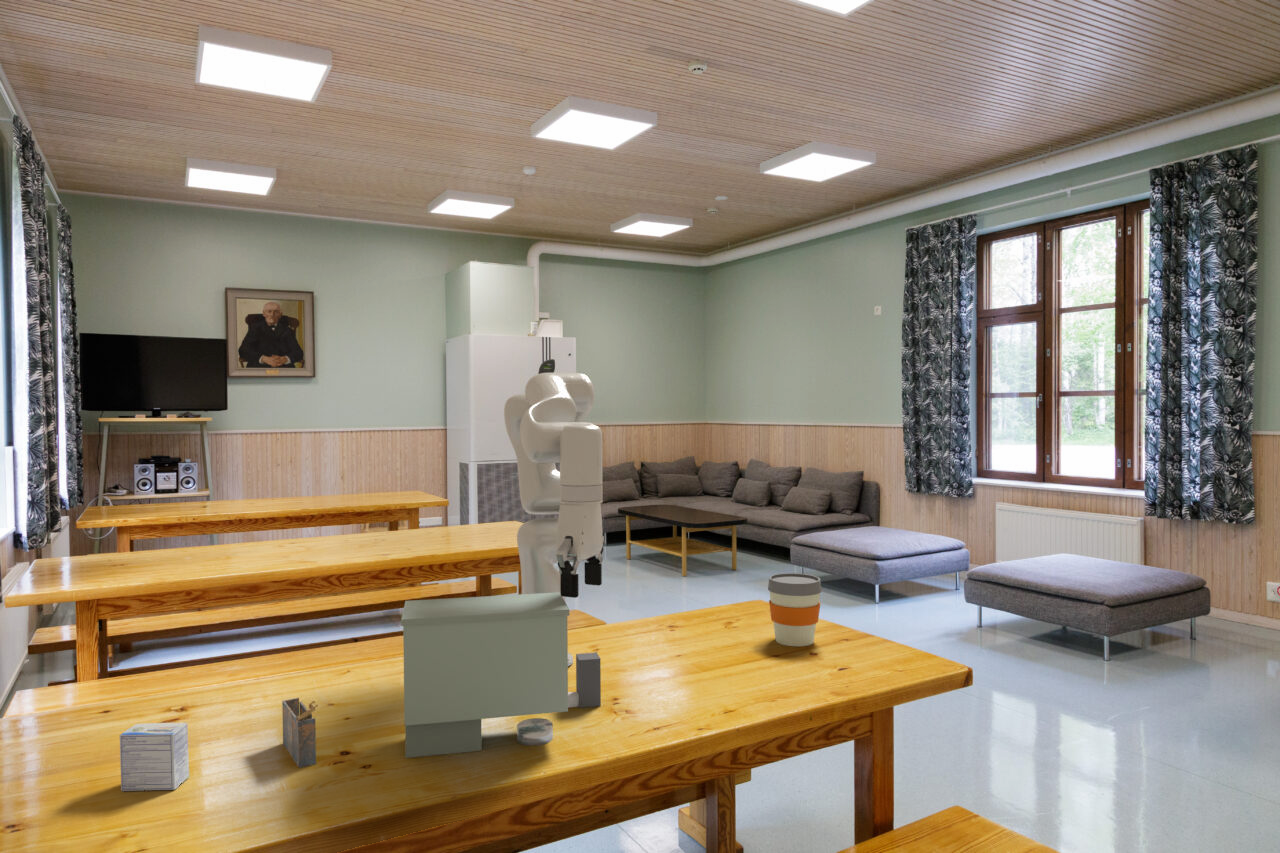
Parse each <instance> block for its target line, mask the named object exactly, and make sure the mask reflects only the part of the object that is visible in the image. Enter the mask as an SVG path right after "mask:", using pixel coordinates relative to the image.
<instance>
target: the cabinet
mask: <svg viewBox="0 0 1280 853" xmlns="http://www.w3.org/2000/svg"><path fill="white" fill-rule="evenodd" d="M569 616H570V608H569V606H568V605H567V603H565V601H564V599H563V597H562V596H561V594H560V592H557V593H539V594H522V593H521V594H505V595H490V596H489V595H488V596H485V595H484V596H469V597H453V598H452V597H450V598H434V599H419V600H418V599H416V600H415V599H414V600H405V602H404V606H403V610H402V614H401V619H400V626H402V628H403V629H402V630H403V632H402V633H403V635H402V636H403V638H402V639H403V640H402V641H403V642H402V643H403V706H404V707H403V709H404V713H403V714H404V717H403V718H404V730H405V732H404V733H405V734H404V736H405V758H406V759H408V758H409V759H410V758H419V757H431V756H437V755H438V756H439V755H440V756H441V755H449V754H459V753H471V752H481V751H482V749H483V748H482V737H483V736H482V720H484V719H498V718H507V717H519V716H528V715H529V716H531V715H542V714H553V713H565V712H569V707H568V692H569V680H568V679H569V675H568V674H569V668H568V667H569V666H568V653H569V650H568V649H569V646H568V645H569V644H568V635H569V634H568V617H569Z"/></svg>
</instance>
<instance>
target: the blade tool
mask: <svg viewBox="0 0 1280 853" xmlns="http://www.w3.org/2000/svg"><path fill="white" fill-rule="evenodd" d="M575 668H576V670H575V671H576V672H575V675H576V676H575V678H576V679H575V682H576V684H575V685H576V686H575V687H576V688H575V690H576V691H571V692H570V691H568V708H579V709H583V708H595V707H596V708H597V707H602V704H601V702H602V701H601V696H602V694H601V693H602V692H601V688H602V687H601V658H600V656H599V654H598V652H586V653H585V652H584V653H583V652H582V653H576V654H575Z"/></svg>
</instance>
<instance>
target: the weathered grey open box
mask: <svg viewBox="0 0 1280 853" xmlns="http://www.w3.org/2000/svg"><path fill="white" fill-rule="evenodd" d="M281 703H282V704H281V705H282V708H281V709H282V745H283V746H284V747H285V749H286V750H287V752H288V754H290V756H291V758H292V759H293V761H294V763H295V764H296V766H297V767H298V768H303V767H304V768H305V767H308V766H312V765H317V746H316V744H317V742H316V740H317V739H316V738H317V737H316V731H317V730H316V729H317V728H316V718H315V717H313V714H312V713H314V712H315V711H316V708H317V707H318V706H319V705H318V704H316V705H315V703H316V701H315V700H313V701H311V702H310V703H308V708H307V706H306V705H305V704H304V703H303V701H300V697H296V698H295V697H294V698H289V699H285V700H282V702H281Z"/></svg>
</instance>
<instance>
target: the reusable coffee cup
mask: <svg viewBox="0 0 1280 853" xmlns="http://www.w3.org/2000/svg"><path fill="white" fill-rule="evenodd" d="M767 584H768V585H767V590H768V591H769V597H770V599H769V600H768V602H769V603H768V604H769V612H770V613H769V614H770V619H771V621H772V623H773V629H774V631H773V632H774V638H775V642H776V643H778V644H780V645H783V646H788V647H807V646H811V645H813V644H814V641H815V636H816V635H815V633H816V628H817V627H816V626H817V623H818V622H819V619H820V618H819V616H820V608H821V602H820V596H821V594H820V593H822V585H821V584H822V582H821V578H820V577H818V576H816V575H813V574H808V573H807V574H806V573H799V572H798V573H794V572H787V573H785V572H783V573H777V574H772V575H770V576H769V578H768V583H767Z"/></svg>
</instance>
